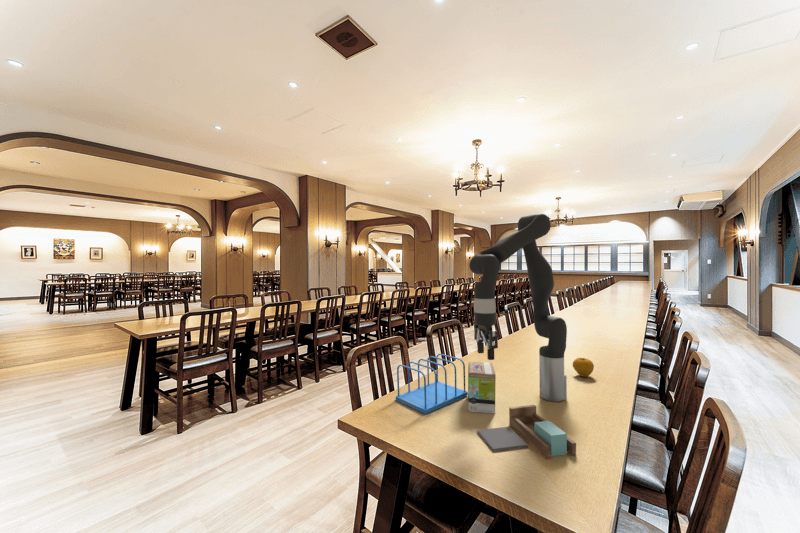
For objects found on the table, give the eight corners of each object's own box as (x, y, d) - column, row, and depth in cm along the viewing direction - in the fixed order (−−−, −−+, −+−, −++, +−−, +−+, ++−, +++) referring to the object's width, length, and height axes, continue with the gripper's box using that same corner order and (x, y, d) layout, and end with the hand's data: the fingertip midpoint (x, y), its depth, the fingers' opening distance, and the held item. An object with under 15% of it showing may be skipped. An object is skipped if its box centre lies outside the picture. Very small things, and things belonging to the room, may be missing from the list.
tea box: (496, 414, 119) (496, 374, 119) (468, 412, 121) (467, 372, 121) (493, 397, 133) (492, 361, 133) (468, 396, 135) (467, 360, 135)
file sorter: (437, 385, 148) (437, 351, 148) (468, 396, 135) (467, 359, 135) (395, 400, 132) (394, 362, 132) (425, 415, 119) (425, 373, 119)
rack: (534, 421, 113) (534, 404, 113) (576, 455, 93) (575, 434, 93) (509, 424, 111) (509, 407, 111) (546, 459, 91) (546, 437, 91)
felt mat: (508, 428, 108) (508, 426, 108) (527, 447, 97) (527, 444, 97) (477, 432, 106) (477, 430, 106) (493, 451, 95) (493, 448, 95)
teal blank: (548, 439, 101) (548, 420, 101) (566, 454, 94) (566, 433, 93) (534, 441, 100) (534, 422, 100) (551, 456, 93) (551, 435, 93)
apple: (568, 374, 160) (568, 356, 160) (580, 372, 164) (580, 354, 164) (585, 380, 152) (585, 361, 152) (598, 377, 155) (598, 358, 155)
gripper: (504, 313, 109) (505, 361, 109) (486, 307, 123) (486, 350, 123) (483, 314, 108) (484, 363, 108) (467, 308, 122) (468, 351, 122)
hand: (485, 356), depth 116 cm, fingers open, 8 cm apart
